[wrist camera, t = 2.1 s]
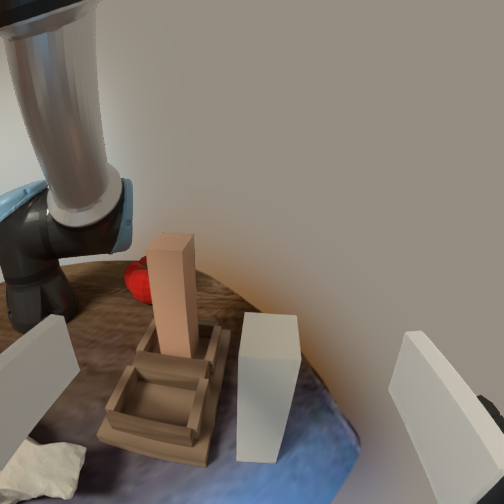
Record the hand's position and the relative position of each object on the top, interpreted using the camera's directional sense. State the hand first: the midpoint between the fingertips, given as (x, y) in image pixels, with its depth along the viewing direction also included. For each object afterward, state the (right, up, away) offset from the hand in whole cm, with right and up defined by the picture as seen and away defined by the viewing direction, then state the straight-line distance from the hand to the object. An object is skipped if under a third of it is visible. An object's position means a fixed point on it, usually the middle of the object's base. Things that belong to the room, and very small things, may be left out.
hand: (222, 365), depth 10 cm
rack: (-9, -13, +24) cm, 28 cm away
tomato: (-18, -4, +44) cm, 47 cm away
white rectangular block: (+2, -16, +17) cm, 23 cm away
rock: (-25, -20, +5) cm, 33 cm away
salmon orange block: (-8, -10, +28) cm, 31 cm away
